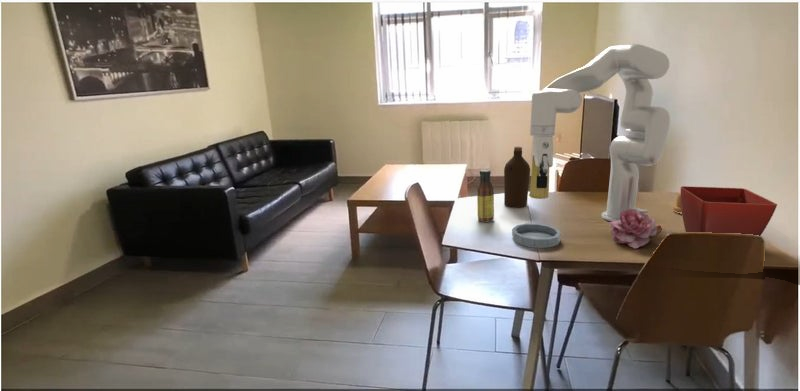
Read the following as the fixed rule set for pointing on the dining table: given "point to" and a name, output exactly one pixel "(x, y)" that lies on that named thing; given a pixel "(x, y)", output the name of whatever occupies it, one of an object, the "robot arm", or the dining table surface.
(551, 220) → the dining table surface
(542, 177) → the robot arm
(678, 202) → the ornamental finial
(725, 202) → the plant pot
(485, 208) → the sauce bottle
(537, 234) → the round tray
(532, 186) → the vase
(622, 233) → the flower
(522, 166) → the olive oil
